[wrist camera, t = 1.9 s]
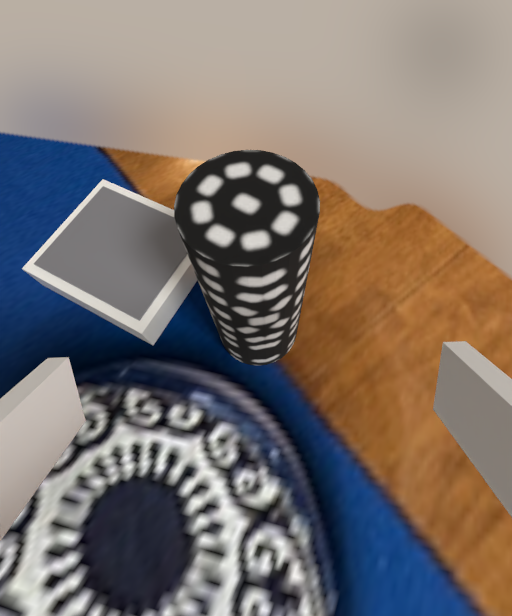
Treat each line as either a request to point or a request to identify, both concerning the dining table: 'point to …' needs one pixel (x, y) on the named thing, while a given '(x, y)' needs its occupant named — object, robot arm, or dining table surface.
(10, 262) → the dining table surface
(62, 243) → the tray
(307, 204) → the spotted tube
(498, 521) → the dining table surface
